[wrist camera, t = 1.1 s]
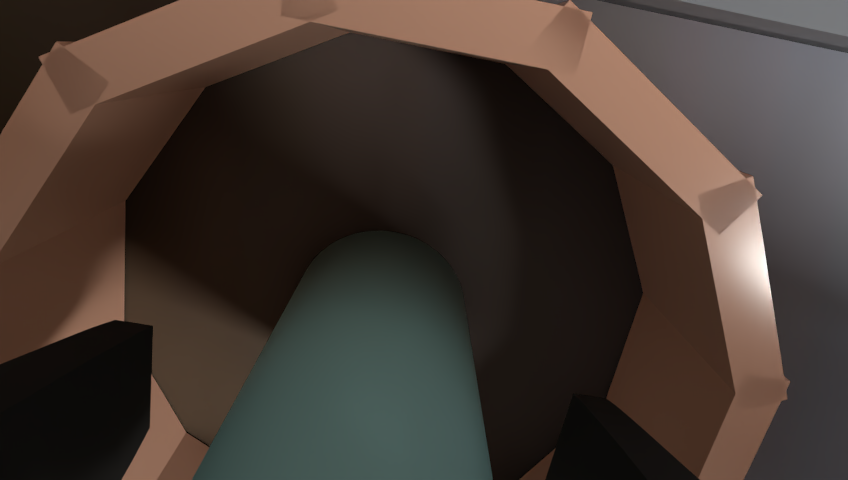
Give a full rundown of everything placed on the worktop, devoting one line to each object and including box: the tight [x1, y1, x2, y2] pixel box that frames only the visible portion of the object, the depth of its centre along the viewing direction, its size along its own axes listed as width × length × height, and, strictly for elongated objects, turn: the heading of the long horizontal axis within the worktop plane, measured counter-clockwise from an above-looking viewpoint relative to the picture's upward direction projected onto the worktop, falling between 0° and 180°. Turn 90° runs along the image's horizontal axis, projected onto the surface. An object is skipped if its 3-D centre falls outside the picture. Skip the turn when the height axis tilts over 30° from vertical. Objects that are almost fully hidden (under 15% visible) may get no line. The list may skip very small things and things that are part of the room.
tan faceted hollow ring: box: [0, 0, 790, 480], centre depth 11 cm, size 14×14×4 cm
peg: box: [192, 231, 493, 480], centre depth 9 cm, size 4×4×8 cm
